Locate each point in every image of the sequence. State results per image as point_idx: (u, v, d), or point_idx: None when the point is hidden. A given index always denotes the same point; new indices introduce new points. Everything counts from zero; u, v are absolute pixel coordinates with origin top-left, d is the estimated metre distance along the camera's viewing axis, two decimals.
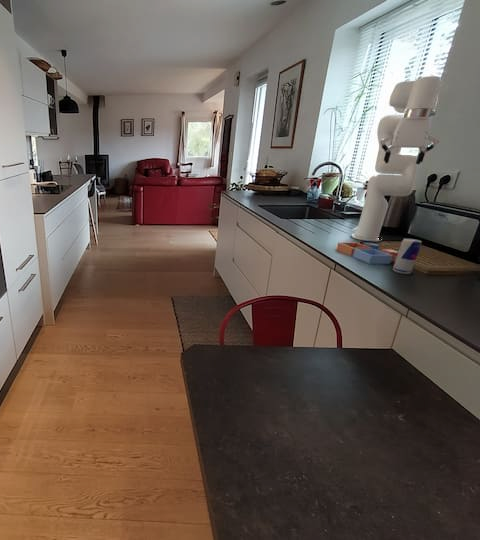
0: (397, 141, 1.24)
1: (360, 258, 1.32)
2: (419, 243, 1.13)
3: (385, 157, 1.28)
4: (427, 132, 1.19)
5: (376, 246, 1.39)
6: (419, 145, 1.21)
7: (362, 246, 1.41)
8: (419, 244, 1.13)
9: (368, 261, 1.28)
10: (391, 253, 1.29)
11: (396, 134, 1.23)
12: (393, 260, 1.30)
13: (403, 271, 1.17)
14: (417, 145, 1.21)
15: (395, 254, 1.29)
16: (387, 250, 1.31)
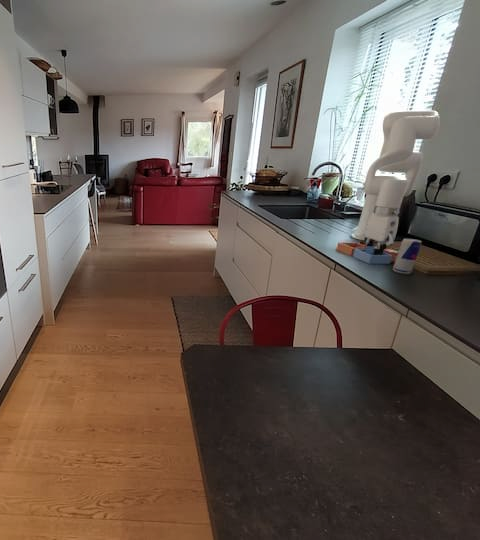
0: (366, 232, 1.31)
1: (360, 258, 1.32)
2: (419, 243, 1.13)
3: None
4: (385, 229, 1.23)
5: None
6: (379, 240, 1.25)
7: (362, 246, 1.41)
8: (419, 244, 1.13)
9: (368, 261, 1.28)
10: (391, 253, 1.29)
11: (366, 226, 1.31)
12: (393, 260, 1.30)
13: (403, 271, 1.17)
14: (378, 239, 1.26)
15: (395, 254, 1.29)
16: (387, 250, 1.31)
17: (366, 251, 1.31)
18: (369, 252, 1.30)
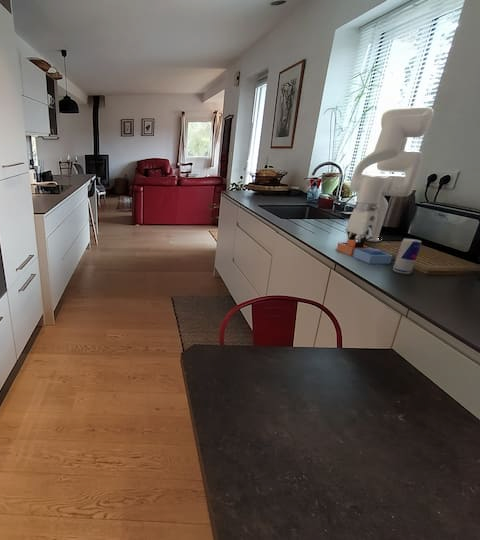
0: (348, 226, 1.41)
1: (360, 258, 1.32)
2: (419, 243, 1.13)
3: None
4: (365, 223, 1.32)
5: (379, 252, 1.29)
6: (360, 233, 1.35)
7: None
8: (419, 244, 1.13)
9: (368, 261, 1.28)
10: None
11: (349, 220, 1.41)
12: None
13: (403, 271, 1.17)
14: (358, 233, 1.35)
15: None
16: (353, 240, 1.40)
17: None
18: None
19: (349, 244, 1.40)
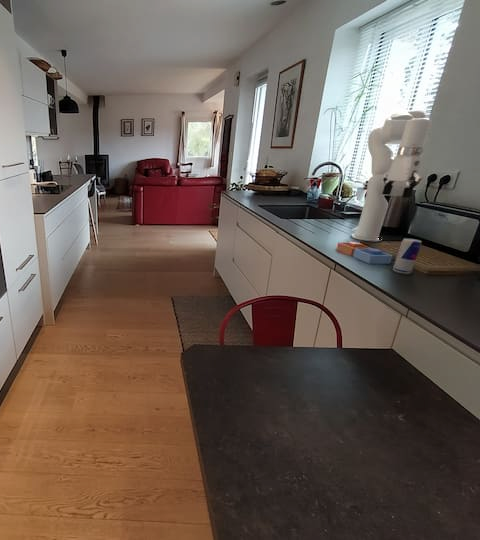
0: (389, 175, 1.36)
1: (360, 258, 1.32)
2: (419, 243, 1.13)
3: (384, 189, 1.41)
4: (409, 168, 1.28)
5: (379, 252, 1.29)
6: (403, 180, 1.30)
7: None
8: (419, 244, 1.13)
9: (368, 261, 1.28)
10: (356, 245, 1.38)
11: (390, 169, 1.36)
12: None
13: (403, 271, 1.17)
14: (401, 180, 1.31)
15: (359, 246, 1.38)
16: (352, 242, 1.40)
17: None
18: None
19: None
